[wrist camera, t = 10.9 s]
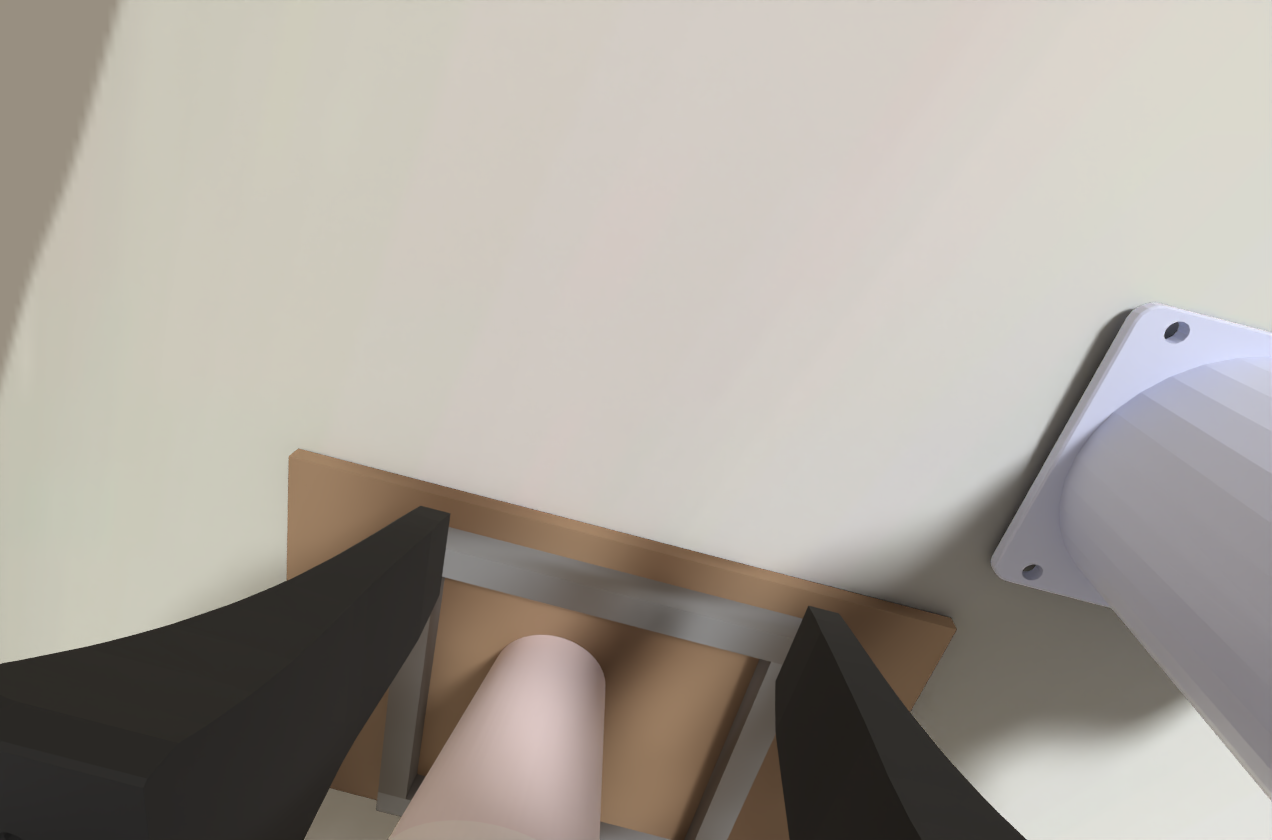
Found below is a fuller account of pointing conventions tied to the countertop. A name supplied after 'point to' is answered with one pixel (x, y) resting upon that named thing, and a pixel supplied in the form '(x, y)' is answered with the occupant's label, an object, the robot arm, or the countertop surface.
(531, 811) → the smoothie
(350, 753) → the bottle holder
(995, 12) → the countertop surface
